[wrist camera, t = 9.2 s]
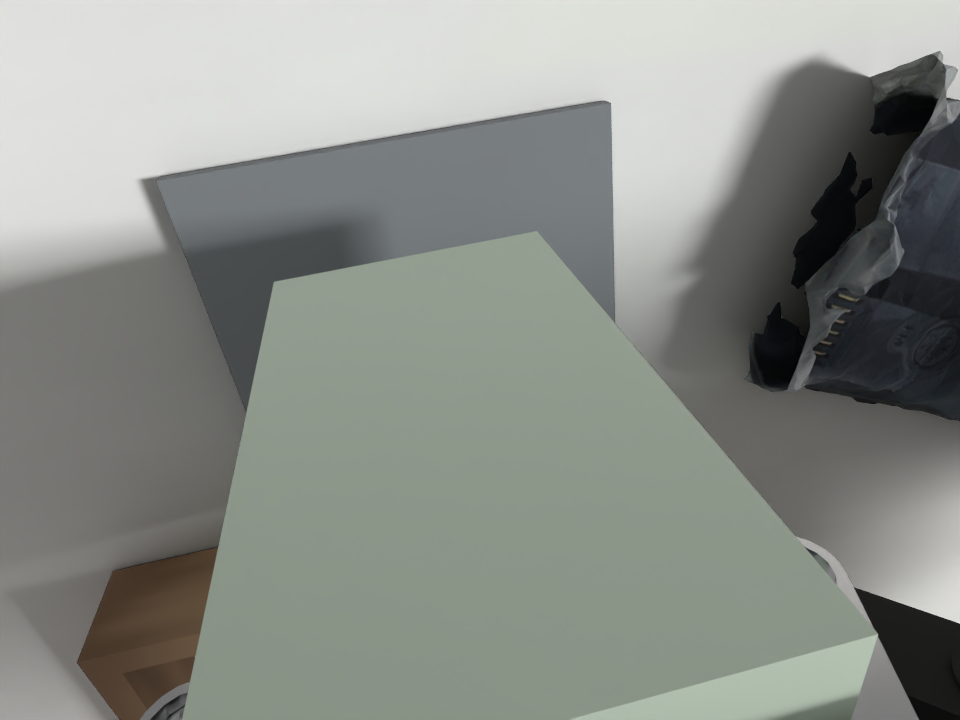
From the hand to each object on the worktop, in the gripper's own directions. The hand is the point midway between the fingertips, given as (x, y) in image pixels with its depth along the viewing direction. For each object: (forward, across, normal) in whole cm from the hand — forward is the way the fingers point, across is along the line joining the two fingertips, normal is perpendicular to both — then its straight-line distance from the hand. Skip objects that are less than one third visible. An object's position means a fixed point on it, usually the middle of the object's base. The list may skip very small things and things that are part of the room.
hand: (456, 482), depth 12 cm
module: (+3, 0, 0) cm, 3 cm away
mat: (+6, 0, 0) cm, 6 cm away
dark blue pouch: (+7, -17, +2) cm, 18 cm away
